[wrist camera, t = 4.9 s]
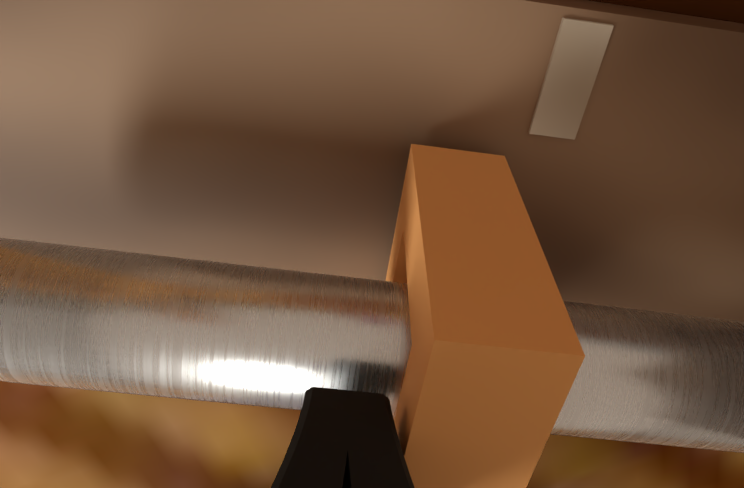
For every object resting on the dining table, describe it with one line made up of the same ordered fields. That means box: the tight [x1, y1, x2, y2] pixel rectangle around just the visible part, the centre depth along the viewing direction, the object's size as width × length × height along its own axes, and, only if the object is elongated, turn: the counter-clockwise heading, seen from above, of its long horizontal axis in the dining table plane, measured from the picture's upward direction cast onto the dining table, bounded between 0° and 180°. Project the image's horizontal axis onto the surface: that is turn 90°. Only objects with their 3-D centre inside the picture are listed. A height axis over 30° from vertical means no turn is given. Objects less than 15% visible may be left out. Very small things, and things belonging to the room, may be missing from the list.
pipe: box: [0, 238, 744, 452], centre depth 12 cm, size 3×18×3 cm, turn 82°
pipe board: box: [0, 0, 744, 453], centre depth 13 cm, size 12×24×8 cm, turn 82°
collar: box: [385, 144, 585, 488], centre depth 12 cm, size 6×2×6 cm, turn 172°
